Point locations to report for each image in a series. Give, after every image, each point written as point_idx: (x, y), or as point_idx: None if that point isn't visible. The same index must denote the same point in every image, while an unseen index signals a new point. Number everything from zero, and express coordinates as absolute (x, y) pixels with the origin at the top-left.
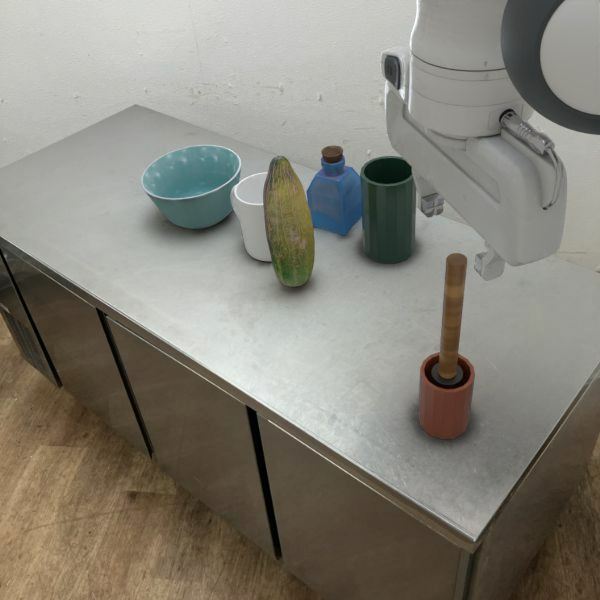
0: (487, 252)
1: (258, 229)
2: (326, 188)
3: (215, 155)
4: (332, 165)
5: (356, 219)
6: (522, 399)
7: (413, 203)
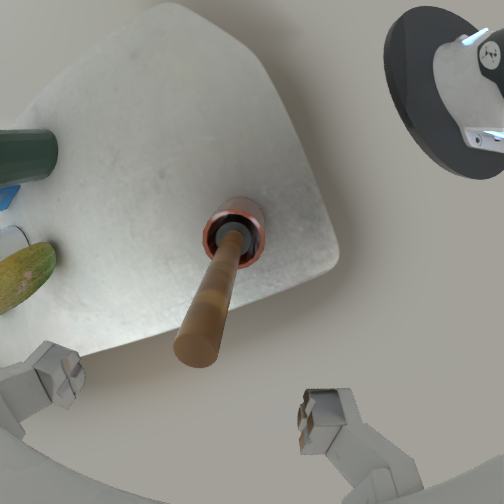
0: (354, 486)
1: None
2: None
3: None
4: None
5: None
6: (259, 140)
7: (11, 138)
